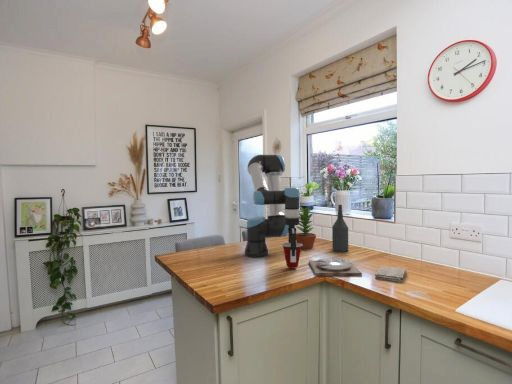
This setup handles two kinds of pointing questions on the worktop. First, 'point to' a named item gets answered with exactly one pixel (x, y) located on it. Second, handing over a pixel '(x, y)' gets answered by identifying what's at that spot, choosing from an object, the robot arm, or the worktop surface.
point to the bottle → (340, 233)
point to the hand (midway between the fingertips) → (292, 258)
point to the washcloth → (390, 274)
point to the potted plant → (305, 230)
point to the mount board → (332, 273)
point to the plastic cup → (287, 254)
